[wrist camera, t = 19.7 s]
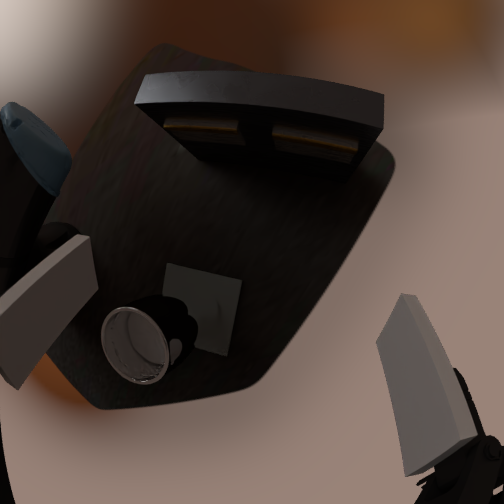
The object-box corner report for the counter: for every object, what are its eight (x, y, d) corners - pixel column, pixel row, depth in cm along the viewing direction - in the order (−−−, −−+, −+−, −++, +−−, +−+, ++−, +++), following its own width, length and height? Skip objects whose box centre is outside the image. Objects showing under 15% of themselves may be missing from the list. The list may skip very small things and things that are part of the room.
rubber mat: (158, 333, 35) (157, 334, 35) (168, 262, 35) (167, 263, 34) (227, 355, 34) (226, 356, 33) (242, 280, 33) (241, 280, 33)
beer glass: (171, 281, 34) (95, 299, 20) (223, 284, 33) (168, 308, 18) (173, 333, 34) (104, 376, 20) (223, 339, 33) (175, 394, 18)
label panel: (196, 162, 34) (132, 108, 19) (207, 122, 34) (155, 53, 18) (344, 187, 31) (382, 135, 16) (350, 143, 31) (383, 70, 15)
